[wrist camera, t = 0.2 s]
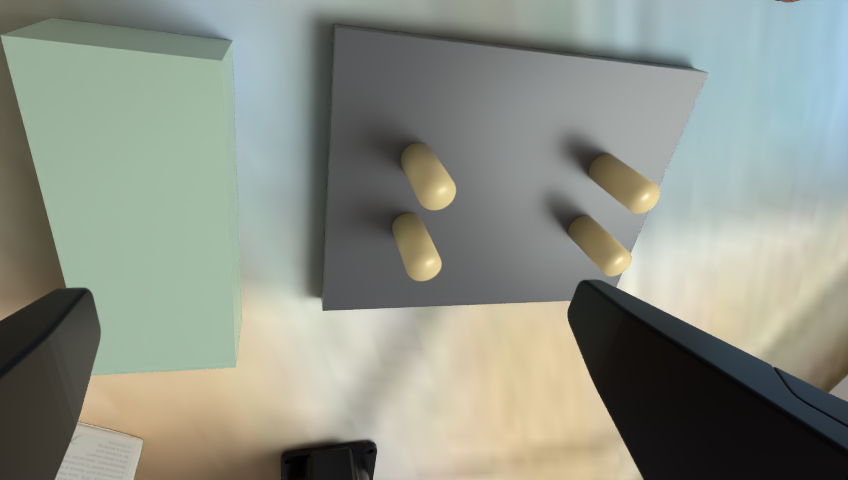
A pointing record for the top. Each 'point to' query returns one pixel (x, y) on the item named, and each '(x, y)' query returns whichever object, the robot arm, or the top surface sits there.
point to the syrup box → (100, 455)
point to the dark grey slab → (488, 168)
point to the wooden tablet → (787, 0)
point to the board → (138, 184)
